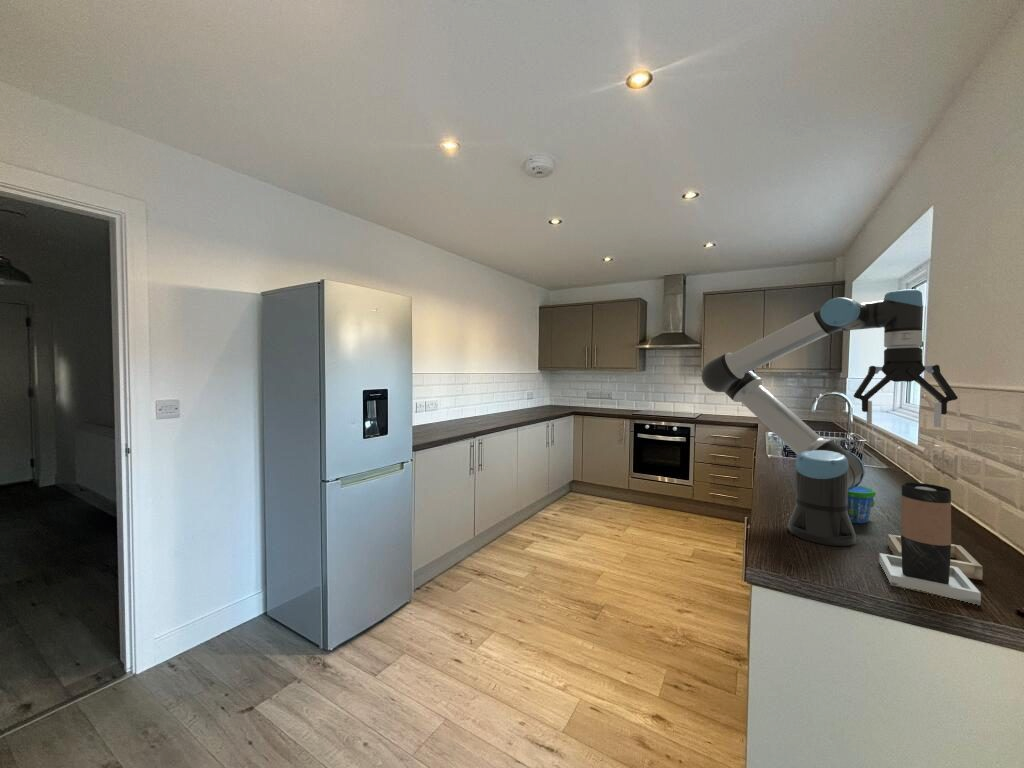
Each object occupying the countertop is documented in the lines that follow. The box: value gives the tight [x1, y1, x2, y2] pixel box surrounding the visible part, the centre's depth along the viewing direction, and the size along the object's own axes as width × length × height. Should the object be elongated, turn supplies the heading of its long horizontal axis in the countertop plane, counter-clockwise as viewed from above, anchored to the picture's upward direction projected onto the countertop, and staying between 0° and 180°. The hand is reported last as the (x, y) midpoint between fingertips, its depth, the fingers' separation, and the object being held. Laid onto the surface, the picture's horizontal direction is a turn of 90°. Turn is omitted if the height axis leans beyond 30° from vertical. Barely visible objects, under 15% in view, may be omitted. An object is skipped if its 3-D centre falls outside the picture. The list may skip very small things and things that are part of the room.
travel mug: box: [900, 482, 952, 585], centre depth 88 cm, size 8×8×20 cm
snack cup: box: [847, 485, 877, 524], centre depth 126 cm, size 16×10×10 cm
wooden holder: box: [887, 533, 984, 581], centre depth 98 cm, size 13×13×3 cm
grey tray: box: [878, 552, 982, 606], centre depth 88 cm, size 13×13×2 cm
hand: (902, 425), depth 110 cm, fingers open, 13 cm apart
